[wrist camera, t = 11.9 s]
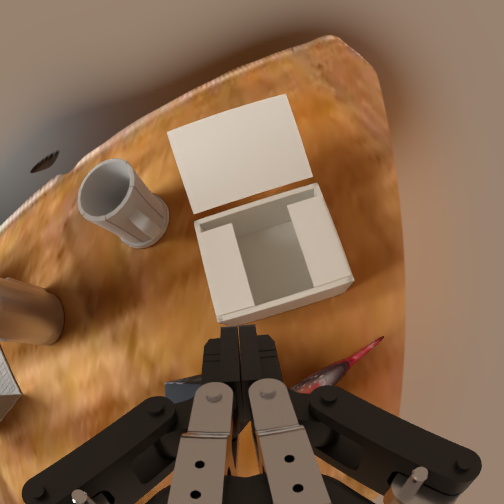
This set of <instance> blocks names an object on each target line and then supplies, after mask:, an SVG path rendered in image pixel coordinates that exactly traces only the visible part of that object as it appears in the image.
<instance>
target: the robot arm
mask: <svg viewBox="0 0 504 504" xmlns="http://www.w3.org/2000/svg"><path fill="white" fill-rule="evenodd" d="M63 325H64V312H63V307H62V305H61V302H60V301H59V299H58V298H57V297H56V296H55V295H54V294H52V293H49V292H47V291H46V290H45V288H41V287H38V286H35V285H32V284H28V283H25V282H22V281H19V280H16V279H13V278H10V277H7V278H5V279H3V278H0V341H7V342H16V343H25V344H36V345H51V344H53V343H55V342H56V341H57V340H58V338H59V337H60V335H61V332H62V330H63ZM239 339H240V349H239ZM203 355H204V356H203V365H202V377H201V387H200V388H198V390H197V391H196V393H195V396H194V397H192V398H191V399H189V400H186V401H183V402H179V403H175V404H174V403H173V402H172V401H171V400H170V399H168V398H166V397H162V396H155V397H151V398H148V399H146V400H145V401H143V402H142V403H140V404H139V405H138V406H136V407H135V408H133V409H132V410H131V411H129V412H128V413H127V414H125V415H124V416H122V417H121V418H120V419H118V420H117V421H115V422H114V423H113V424H111V425H110V426H108V427H107V428H106V429H104V430H103V431H101V432H100V433H98V434H97V435H96V436H94V437H93V438H91V439H90V440H88V441H87V442H85V443H84V444H83V445H81V446H80V447H78V448H77V449H75V450H74V451H72V452H71V453H69V454H68V455H66V456H65V457H63V458H62V459H60V460H59V461H57V462H56V463H54V464H53V465H51V466H50V467H48V468H47V469H45V470H43V471H42V472H40V473H39V474H37V475H36V476H34V477H33V478H31V479H29V480H28V481H27V482H26V483H25V485H24V486H23V489H22V498H23V501H24V502H25V504H134V503H135V502H137V501H138V500H139V499H140V498H142V497H143V496H144V495H145V494H146V493H148V492H149V491H150V490H151V489H152V488H154V487H155V486H156V485H157V484H158V483H159V482H161V481H162V480H163V479H164V478H165V477H166V476H168V475H169V474H170V473H171V472H172V471H173V470H174V473H173V478H172V483H171V485H169V486H167V487H166V488H164V489H162V490H161V491H159V492H158V493H157V494H155V495H154V496H153V497H152V498H151V499H150V500H149V501H148V502H147V503H145V504H375V503H373V502H372V501H370V500H368V499H367V498H365V497H364V496H362V495H360V494H359V493H357V492H356V491H354V490H353V489H351V488H349V487H348V486H346V485H345V484H343V483H342V482H340V481H339V480H336V479H334V478H332V477H329V476H327V475H323V474H321V473H320V470H319V467H318V464H317V461H316V458H315V456H314V455H316V456H318V457H319V458H321V459H322V460H324V461H325V462H327V463H328V464H330V465H332V466H333V467H335V468H336V469H338V470H340V471H341V472H343V473H345V474H346V475H348V476H350V477H351V478H353V479H355V480H356V481H358V482H360V483H362V484H363V485H365V486H367V487H369V488H370V489H372V490H374V491H376V492H378V493H379V494H381V495H383V496H384V499H383V502H384V504H454V503H455V501H456V500H457V498H458V497H459V496H460V495H461V494H462V493H463V492H464V491H465V490H466V489H467V488H468V487H469V485H470V484H471V483H472V482H473V481H474V480H475V478H476V477H477V476H478V475H479V473H480V471H481V467H482V464H481V460H480V457H479V456H478V455H477V454H476V453H475V452H474V451H472V450H470V449H468V448H465V447H463V446H460V445H458V444H456V443H453V442H451V441H448V440H447V439H444V438H442V437H440V436H437V435H435V434H433V433H431V432H429V431H426V430H424V429H422V428H420V427H418V426H415V425H413V424H411V423H409V422H407V421H405V420H403V419H401V418H399V417H397V416H395V415H393V414H390V413H388V412H386V411H384V410H382V409H380V408H378V407H376V406H374V405H372V404H370V403H368V402H366V401H364V400H363V399H361V398H359V397H357V396H355V395H353V394H351V393H349V392H347V391H345V390H343V389H341V388H339V387H337V386H333V385H324V386H320V387H317V388H315V389H314V390H313V391H312V392H311V393H310V394H308V393H300V392H295V391H293V390H291V389H289V388H288V387H287V386H286V385H285V384H284V382H283V380H282V375H281V370H280V365H279V361H278V357H277V351H276V346H275V342H274V340H273V339H272V338H271V337H270V336H269V335H258V336H257V334H256V327H255V325H242V326H239V338H238V328H237V326H228V327H221V337H220V338H217V339H209V340H208V342H207V343H206V345H205V346H204V354H203ZM240 356H241V360H240ZM241 372H242V375H241ZM242 385H243V391H242ZM243 395H244V405H245V414H246V421H251V426H252V436H253V442H254V447H255V452H256V457H257V462H258V467H259V472H260V474H258V475H255V476H251V477H246V478H245V477H237V470H238V449H239V431H240V428H239V422H243V421H244V406H243Z"/></svg>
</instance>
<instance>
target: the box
mask: <svg viewBox="0 0 504 504" xmlns="http://www.w3.org/2000/svg"><path fill="white" fill-rule="evenodd" d="M201 377H202V375H196V376H192V377H188V378H183V379H179V380H175V381H170V382H166V383H165V397H166V398H168V399H170V400H171V401H172V402H173V403H174V404H175V403H179V402H183V401H186V400H189V399H191V398H192V397H194V396H195V393H196V391H197V390H198V388H200V387H201ZM242 391H243V385H242ZM243 406H244V421H243V422H239V428H240V431H239V433H240V432H241V431H242V430H243V428H244V427H245V426H246V425H247V423H248V422H249V421H246V414H245V405H244V395H243Z"/></svg>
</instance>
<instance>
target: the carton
mask: <svg viewBox="0 0 504 504" xmlns="http://www.w3.org/2000/svg"><path fill="white" fill-rule="evenodd" d="M194 226H195V230H196V235H197V239H198V243H199V248H200V252H201V256H202V261H203V265H204V269H205V273H206V277H207V282H208V286H209V290H210V294H211V298H212V302H213V306H214V310H215V314H216V317H217V321H218V323H221V324H225V325H229V326H239V325H242V324H246V323H249V322H253V321H256V320H260V319H263V318H267V317H270V316H273V315H277V314H280V313H283V312H287V311H290V310H293V309H296V308H299V307H303V306H306V305H309V304H312V303H315V302H318V301H321V300H325V299H328V298H331V297H334V296H337V295H340V294H343V293H345V292H346V290H347V289H348V288H349V287H350V285H351V284H352V283H353V282H354V277H353V275H352V272H351V269H350V266H349V263H348V260H347V258H346V255H345V252H344V249H343V247H342V244H341V241H340V239H339V236H338V233H337V231H336V228H335V225H334V223H333V220H332V218H331V215H330V212H329V210H328V207H327V205H326V202H325V200H324V197H323V195H322V192H321V190H320V188H319V185H318V183H313V184H310V185H307V186H303V187H300V188H296V189H293V190H290V191H287V192H283V193H280V194H277V195H273V196H270V197H267V198H264V199H261V200H257V201H254V202H251V203H248V204H245V205H242V206H239V207H235V208H232V209H229V210H226V211H223V212H220V213H217V214H214V215H211V216H208V217H205V218H202V219H199V220H196V221H194Z"/></svg>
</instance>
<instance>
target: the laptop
mask: <svg viewBox="0 0 504 504" xmlns="http://www.w3.org/2000/svg"><path fill="white" fill-rule="evenodd" d="M9 369H10V367H9V365H8V363H7V361H6V359H5V357H4V355H3V352H2V350H1V348H0V421H1V420H2V419H3V418H4V416H5V415H6V414H7V413H8V412H9V410H10V409H11V408H12V407H13V405H14V404H15V403H16V402H17V400H18V399H19V398H20V397H21V396H22V393H21V392H20V388H19V386H18V385H16V383H17V382H16V381H14V379H15V378H13V377H12V376H13V374H11V370H9Z"/></svg>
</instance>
